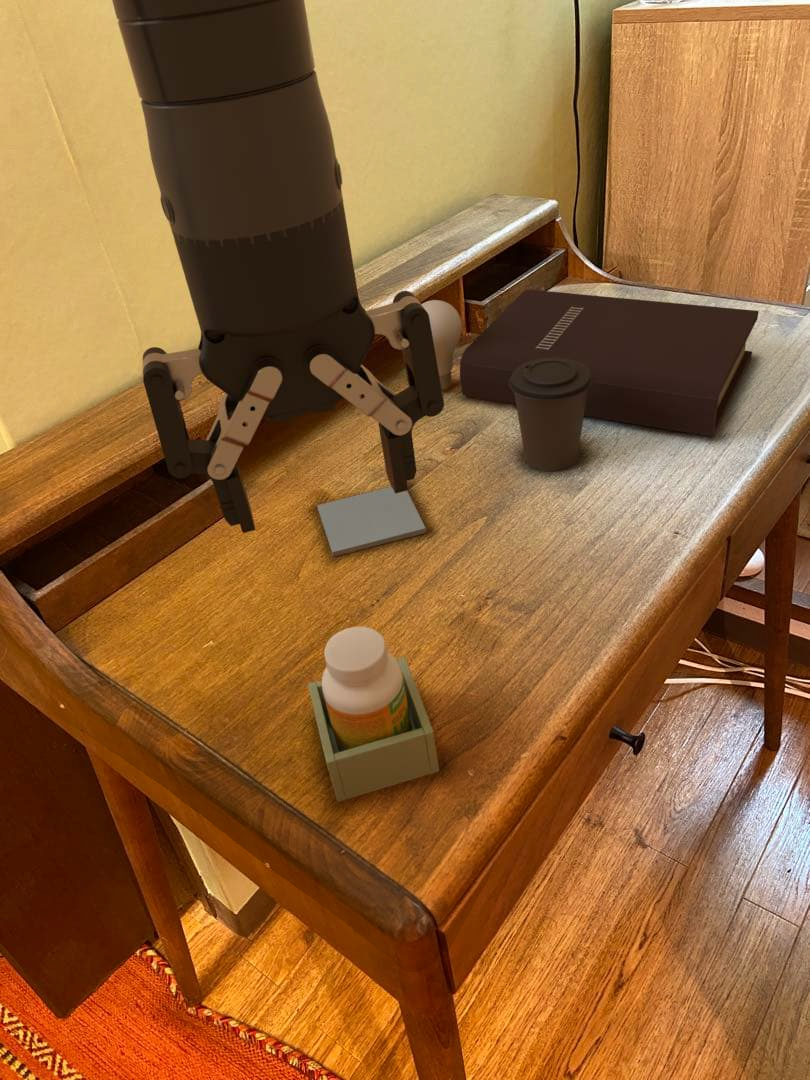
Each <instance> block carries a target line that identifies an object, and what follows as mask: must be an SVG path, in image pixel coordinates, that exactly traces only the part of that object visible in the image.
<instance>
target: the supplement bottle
mask: <svg viewBox="0 0 810 1080" xmlns="http://www.w3.org/2000/svg"><path fill="white" fill-rule="evenodd" d="M323 654H324V661H325V666H326V667H325V669H324V670H323V673H322V677H321V680H322V690H323V695H324V699H325V702H326V706H327V710H328V713H329V717H330V721H331V725H332V728H333V732H334V736H335V740H336V743H337V747H338V750H339V752H341V751H345V750H348V749H352V748H355V747H358V746H362V745H365V744H369V743H372V742H376V741H379V740H382V739H386V738H389V737H393V736H396V735H399V734H403V733H406V732H410V731H412V726H411V720H410V714H409V708H408V703H407V698H406V692H405V686H404V681H403V675H402V671H401V667H400V665H399V663H398V661H397V660H396V659H397V658H396V657H395V656H394V655H392V653H390V652H389V651H388V648H387V644H386V641H385V638H384V636H382V634H381V633H380V632H379V631H377V630H375V629H373V628H370V627H367V626H351V627H348V628H347V627H346V628H344V629H342V630H340V631H338V632H337V633H335V634H334V635H332V636H331V637H330V638H329V640H328V641H327V642H326V644H325V647H324V652H323Z"/></svg>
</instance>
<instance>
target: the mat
mask: <svg viewBox="0 0 810 1080" xmlns="http://www.w3.org/2000/svg"><path fill="white" fill-rule="evenodd" d="M316 507H317V510H318V513H319V517H320V520H321V524H322V526H323V529H324V532H325V536H326V538H327V542H328V544H329V548H330V551H331V554H332V557H334V558H335V557H338V556H342V555H347V554H351V553H354V552H358V551H362V550H365V549H369V548H373V547H378V546H381V545H385V544H389V543H392V542H396V541H401V540H405V539H407V538H411V537H415V536H419V535H424V534H427V527H426V526H425V524H424V522H423V520H422V517H421V515H420V513H419V512H418V509H417V507H416V505H415V503H414V501H413V499H412V497H411V495H410V493H409V491H404V492H400V493H396V494H395V492H394V490H393V488H392V486H388V487H385V488H380V489H376V490H373V491H369V492H364V493H361V494H357V495H353V496H348V497H345V498H344V497H343V498H340V499H337V500H332V501H329V502H325V503H320V504H317V505H316Z"/></svg>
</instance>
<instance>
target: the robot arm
mask: <svg viewBox="0 0 810 1080" xmlns="http://www.w3.org/2000/svg"><path fill="white" fill-rule="evenodd" d="M111 1H112V5H113V8H114V14H115V17H116V19H117V20H118V21H117V25H118V29H119V32H120V35H121V39H122V41H123V45H124V49H125V53H126V55H127V59H128V62H129V66H130V70H131V73H132V76H133V81H134V83H135V87H136V90H137V93H138V97H139V98H140V99H141V100H140V105H141V109H142V113H143V117H144V118H143V119H144V123H145V128H146V129H145V130H146V135H147V141H148V149H149V154H150V158H151V159H150V160H151V164H152V169H153V172H154V175H155V178H156V182H157V185H158V188H159V192H160V198H159V199H160V205H161V208H162V210H163V214H164V216H165V218H166V220H167V222H168V223H169V226H170V230H171V234H172V236H173V239H174V244H175V247H176V250H177V254H178V257H179V258H178V259H179V261H180V265H181V267H182V271H183V274H184V278H185V282H186V285H187V289H188V292H189V295H190V298H191V302H192V306H193V308H194V312H195V315H196V319H197V323H198V326H199V329H200V339H199V340H200V341H199V344H198V347H197V348H193V349H187V350H182V351H175V352H168V353H167V352H166V351H165V349H164V348H162V347H158V346H153V347H152V346H151V347H149V348H147V349H146V350H145V351H144V352H143V354H142V381H143V385H144V388H145V393H146V397H147V400H148V403H149V406H150V407H149V408H150V410H151V413H152V418H153V421H154V425H155V429H156V432H157V435H158V439H159V443H160V447H161V449H162V454H163V457H164V461H165V464H166V467H167V471H168V473H169V474H170V475H171V477H173V478H176V479H185V478H186V479H187V478H188V477H189V476H191V475H202V476H206V477H207V478H208V479H210V480H211V482H212V484H213V487H214V490H215V493H216V497H217V499H218V503H219V505H220V509H221V512H222V515H223V518H224V520H225V522H226V523H227V524H228V525H229V526H230V527H233V526H237V525H239V526H240V530H241V533H242V534H246V533H250V532H253V531H256V525H255V521H254V516H253V512H252V508H251V504H250V501H249V498H248V495H247V494H248V493H247V491H246V488H245V487H246V486H245V484H244V480H243V478H242V473H241V471H240V467H239V464H238V460H239V458H240V456H241V454H242V452H243V450H244V448H245V447H248V446H249V444H250V443H251V441H252V439H253V437H254V435H255V433H256V431H257V429H258V427H259V425H260V423H261V421H262V419H265V420H272V422H273V424H279V423H282V422H283V423H284V422H287V421H291V420H292V419H294V418H296V417H298V416H300V415H302V414H305V413H307V414H309V413H311V414H312V413H313V414H314V413H315V414H318V413H325V412H328V411H333V410H335V409H336V408H335V405H336V404H338V403H339V402H341V401H342V400H343V399H345V400H346V401H347V402H349V403H350V404H351V405H352V406H354V407H355V408H356V409H358V410H359V411H360V412H361V413H362V414H364V415H365V416H367V417H368V418H369V417H372V418H373V420H375V421H376V422H377V424H378V427H379V428H378V430H379V435H380V442H381V449H382V454H383V460H384V468H385V473H386V476H387V479H388V482H389V484H390V487H392V488H393V490H394V492H395V494H396V493H400V492H404V491H408V490H409V487H408V481H412V480H415V478H416V474H417V464H416V456H415V449H414V442H413V428H414V426H415V424H416V423H417V422H418V421H420V420H421V419H423V418H425V417H429V418H430V417H431V418H432V417H433V418H434V417H436V416H438V415H439V414H441V412H442V411H443V410H444V407H445V402H444V395H443V391H442V389H441V383H440V377H439V371H438V366H437V360H436V354H435V348H434V342H433V336H432V330H431V325H430V319H429V315H428V313H427V311H426V310H425V309H424V308H423V306H422V305H421V304H422V303H421V302H420V301H419V299H417V297H416V295H414V294H413V293H412V291H410V290H409V291H408V290H401V291H399V292H398V293H396V294H395V295H394V297H393V299H392V303H389V304H386V305H382V306H379V307H376V308H375V307H374V308H371V309H367V310H366V309H365V308H364V306H362V303H361V300H360V297H359V292H358V284H357V280H356V273H355V268H354V266H355V265H354V261H353V253H352V247H351V242H350V234H349V229H348V228H349V227H348V224H347V217H346V211H345V205H344V197H343V191H342V185H343V176H342V169H341V164H340V163H339V161H338V158H337V153H336V148H335V141H334V137H333V132H332V127H331V124H330V119H329V116H328V113H327V108H326V105H325V102H324V99H323V96H322V92H321V88H320V84H319V80H318V74H317V71H316V70H315V68H316V64H315V58H314V52H313V46H312V39H311V33H310V28H309V21H308V14H307V9H306V4H305V0H111ZM376 335H382V336H384V337H385V338H386V340H387V341H388V343H389V345H390V346H391V347H392V348H393V349H395V350H399V351H400V350H401V354H402V359H403V364H404V368H405V375H406V381H407V384H408V387H406V388H404V389H403V390H401V391H400V392H398V393H396V394H395V393H394V392H393V391H392V390H390V389H389V388H388V387H387V386H385V385H384V384H383V383H382V382H381V381H379V380H378V379H377V378H376V377H375V376H374V375H373V373H372V372H371V371H370V370H368V368H367V367H365V366H364V365H363V363H364V361H365V359H366V357H367V355H368V353H369V351H370V349H371V347H372V345H373V343H374V340H375V337H376ZM200 375H203V376H204V378H205V379H207V380H208V381H209V382H210V383H211V384H213V385H214V386H215V387H217V389H219V390H221V391H222V392H223V393H224V394H223V397H222V399H221V401H220V403H219V405H218V406H219V407H218V410H217V414H216V418H215V420H214V422H213V424H212V426H211V428H210V431H209V433H208V434H207V436H206V439H193V438H190V437H189V432H188V429H187V425H186V421H185V417H184V414H183V409H182V405H181V402H182V401H184V400H187V399H188V398H189V397H190V396H191V394H192V390H193V388H192V385H193V381H194V380H195V379H196V378H197V377H198V376H200ZM408 492H409V491H408Z"/></svg>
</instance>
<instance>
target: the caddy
mask: <svg viewBox="0 0 810 1080" xmlns="http://www.w3.org/2000/svg"><path fill="white" fill-rule="evenodd" d="M395 659H396V660H397V661H398V663H399V665H400V667H401V671H402V675H403V681H404V686H405V692H406V698H407V703H408V708H409V714H410V720H411V726H412V731H410V732H406V733H403V734H399V735H396V736H393V737H389V738H386V739H382V740H379V741H376V742H372V743H369V744H365V745H362V746H358V747H355V748H352V749H348V750H345V751H341V752H339V750H338V747H337V743H336V740H335V736H334V732H333V728H332V725H331V721H330V717H329V713H328V710H327V706H326V702H325V699H324V695H323V690H322V679H320V680H317V681H312V682H308V684H307V688H308V691H309V695H310V699H311V704H312V708H313V712H314V716H315V721H316V727H317V728H318V729H317V730H318V734H319V738H320V743H321V746H322V751H323V755H324V759H325V764H326V768H327V771H328V774H329V778H330V781H331V785H332V788H333V792H334V795H335V799H336V801H337V803H339V802H343V801H346V800H349V799H352V798H356V797H359V796H362V795H366V794H368V793H372V792H373V793H374V792H376V791H379V790H383V789H385V788H389V787H392V786H395V785H398V784H402V783H405V782H408V781H412V780H415V779H419V778H421V777H425V776H429V775H432V774H435V773H438V772H440V766H439V759H438V753H437V746H436V740H435V734H434V729H433V727H432V724H431V721H430V719H429V716H428V713H427V711H426V708H425V706H424V703H423V700H422V698H421V695H420V692H419V689H418V687H417V685H416V682H415V679H414V676H413V674H412V671H411V669H410V666H409V664H408V659H407V658H406V656H401V657H398V658H395Z"/></svg>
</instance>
